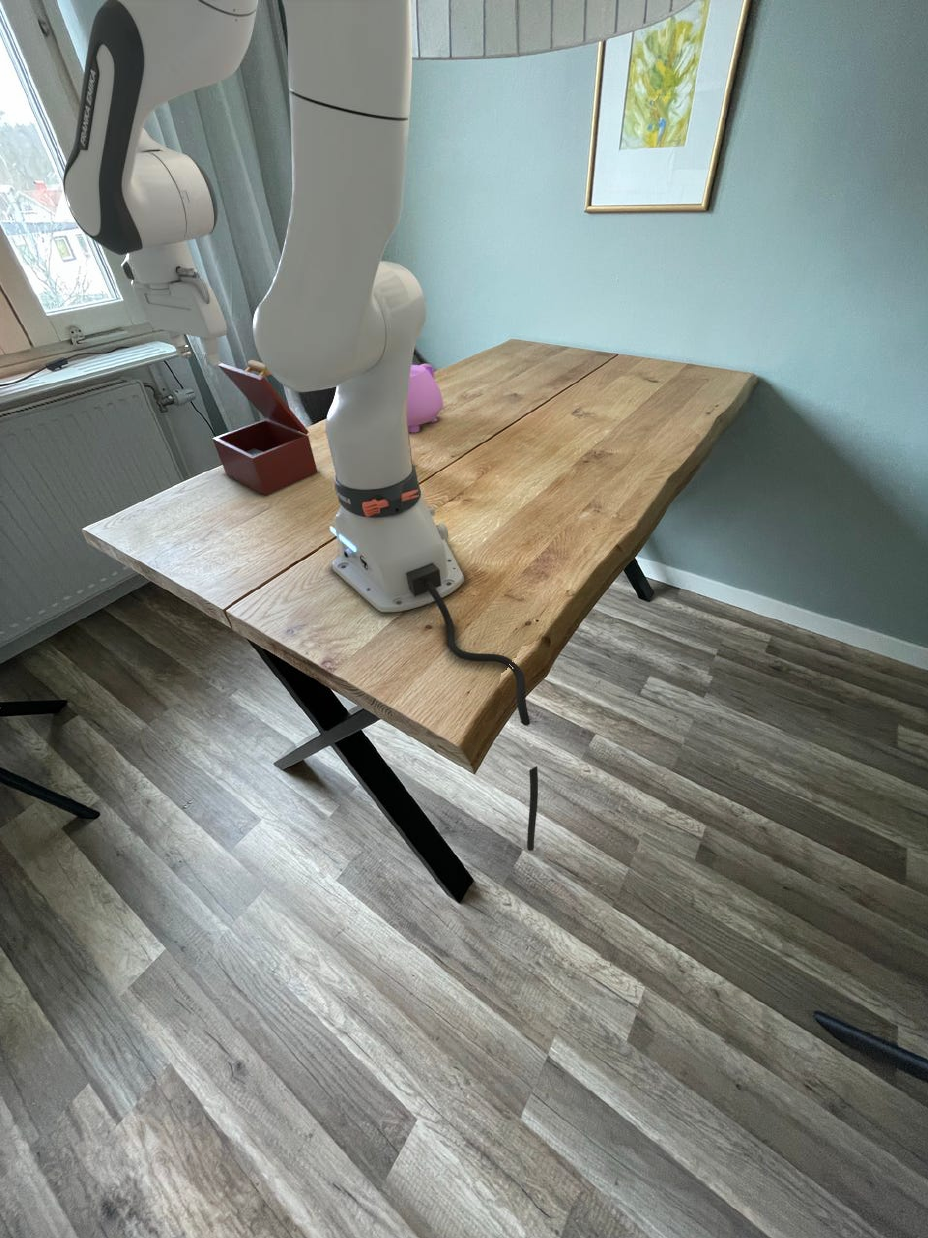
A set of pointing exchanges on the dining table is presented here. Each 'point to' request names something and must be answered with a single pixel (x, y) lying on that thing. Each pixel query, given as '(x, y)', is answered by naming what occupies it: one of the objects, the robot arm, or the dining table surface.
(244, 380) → the cover
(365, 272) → the robot arm
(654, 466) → the dining table surface
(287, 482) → the red hinged box
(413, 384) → the pink piggy bank
